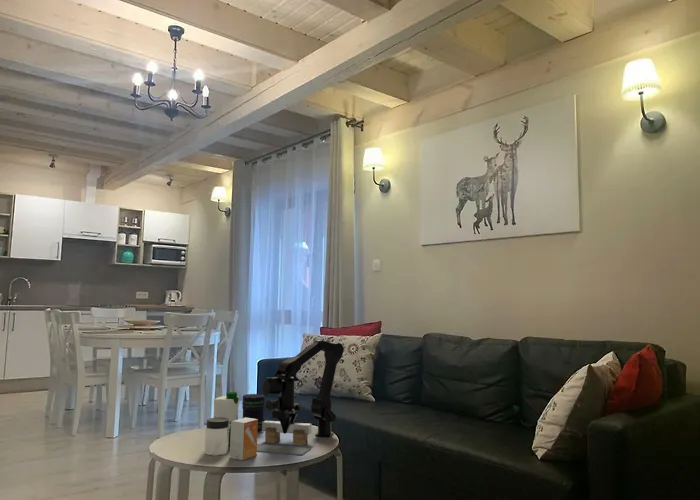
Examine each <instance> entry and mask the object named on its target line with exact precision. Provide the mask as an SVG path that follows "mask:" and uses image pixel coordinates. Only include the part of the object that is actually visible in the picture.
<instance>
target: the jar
mask: <svg viewBox="0 0 700 500" xmlns="http://www.w3.org/2000/svg"><path fill="white" fill-rule="evenodd" d="M204 438H205V439H204V441H205V442H204V443H205V444H204V455H208V456H212V457H213V456H214V457H215V456H223V455H226V454H227V453H228V452H229V447H228V442H229V419H228V418H221V417H219V418H214V417H211V418H207V419H206V426H205V437H204Z"/></svg>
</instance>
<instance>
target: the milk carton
mask: <svg viewBox="0 0 700 500" xmlns="http://www.w3.org/2000/svg"><path fill="white" fill-rule="evenodd" d="M239 404H240V396H238V393H237V392H235V391H228V392H226V396H225V395H223V396H218V397H217V398H214V399H213V409H214V410H213V418H219V417H221V418H228V419H229V442H228V448H230V437H231V421H234V420H237V419H239Z"/></svg>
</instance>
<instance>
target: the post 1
mask: <svg viewBox="0 0 700 500" xmlns="http://www.w3.org/2000/svg"><path fill="white" fill-rule="evenodd" d="M264 432H265V433H264V443H265V444H267V443H268V444H276V443H277V442H279V441H280V440H281V433H279V432H275V429H274V428H265V431H264Z"/></svg>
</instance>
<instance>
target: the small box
mask: <svg viewBox="0 0 700 500" xmlns="http://www.w3.org/2000/svg"><path fill="white" fill-rule="evenodd" d="M257 431H258V419H253V418H246V417H245V418H243V417H242V418H238V419H237V420H234V421H231V437H230V447H229V459H234V460H240V461H245V460H246V459H249V458H253V457H255V456H257V454H258V452H257V444H258V432H257Z"/></svg>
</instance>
